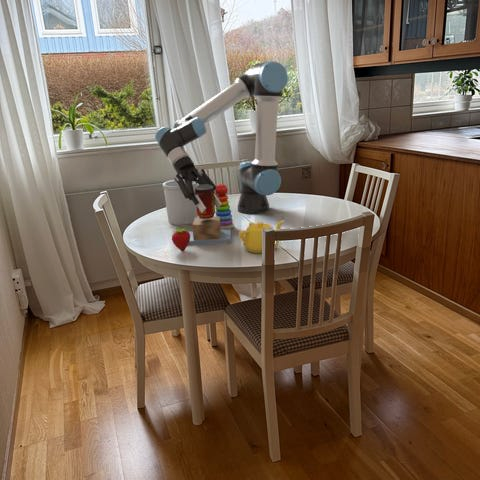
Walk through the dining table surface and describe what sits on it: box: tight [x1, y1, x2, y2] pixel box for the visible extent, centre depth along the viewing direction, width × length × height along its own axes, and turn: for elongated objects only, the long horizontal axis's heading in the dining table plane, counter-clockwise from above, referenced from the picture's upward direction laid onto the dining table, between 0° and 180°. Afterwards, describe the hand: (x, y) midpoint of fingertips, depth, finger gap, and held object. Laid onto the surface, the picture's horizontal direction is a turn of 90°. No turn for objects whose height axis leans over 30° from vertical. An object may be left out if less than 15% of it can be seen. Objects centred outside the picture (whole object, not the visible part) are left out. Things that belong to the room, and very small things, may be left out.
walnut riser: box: [191, 215, 221, 240], centre depth 168 cm, size 10×10×6 cm
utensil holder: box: [162, 179, 199, 226], centre depth 193 cm, size 15×15×18 cm
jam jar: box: [195, 184, 216, 219], centre depth 165 cm, size 7×7×12 cm
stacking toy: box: [214, 183, 235, 230], centre depth 179 cm, size 8×8×19 cm
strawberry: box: [171, 225, 190, 252], centre depth 156 cm, size 6×8×10 cm
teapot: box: [238, 219, 285, 254], centre depth 155 cm, size 14×13×10 cm
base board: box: [187, 229, 232, 246], centre depth 170 cm, size 18×12×2 cm, turn 90°
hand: (211, 208), depth 163 cm, fingers closed on jam jar, 7 cm apart
